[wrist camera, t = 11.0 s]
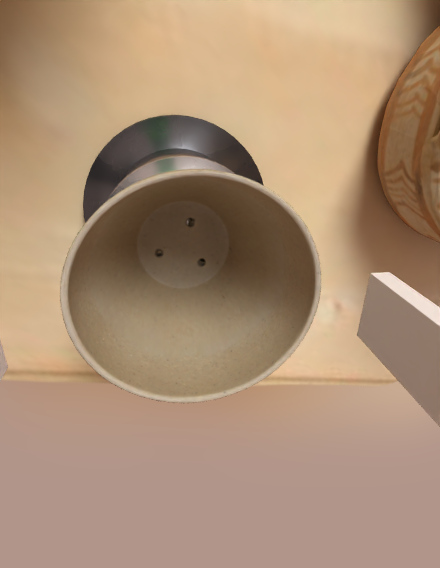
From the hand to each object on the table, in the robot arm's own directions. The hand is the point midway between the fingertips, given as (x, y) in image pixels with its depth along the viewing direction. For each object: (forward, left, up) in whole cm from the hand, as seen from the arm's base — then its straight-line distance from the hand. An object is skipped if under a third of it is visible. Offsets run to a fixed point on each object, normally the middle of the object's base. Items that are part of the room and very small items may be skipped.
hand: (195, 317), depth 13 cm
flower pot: (0, 0, -9) cm, 9 cm away
